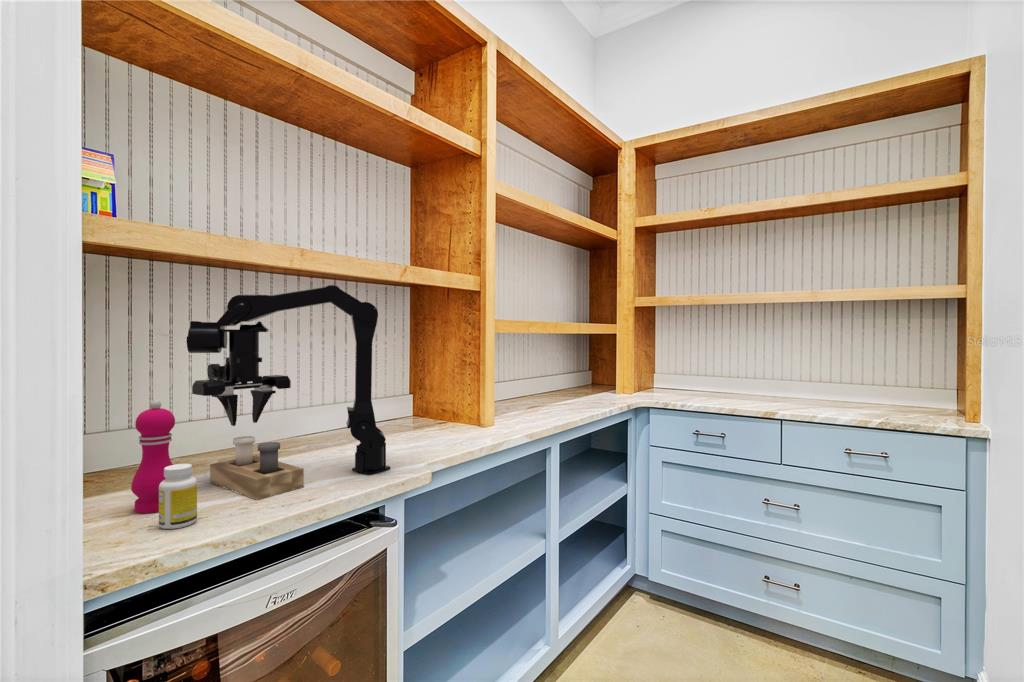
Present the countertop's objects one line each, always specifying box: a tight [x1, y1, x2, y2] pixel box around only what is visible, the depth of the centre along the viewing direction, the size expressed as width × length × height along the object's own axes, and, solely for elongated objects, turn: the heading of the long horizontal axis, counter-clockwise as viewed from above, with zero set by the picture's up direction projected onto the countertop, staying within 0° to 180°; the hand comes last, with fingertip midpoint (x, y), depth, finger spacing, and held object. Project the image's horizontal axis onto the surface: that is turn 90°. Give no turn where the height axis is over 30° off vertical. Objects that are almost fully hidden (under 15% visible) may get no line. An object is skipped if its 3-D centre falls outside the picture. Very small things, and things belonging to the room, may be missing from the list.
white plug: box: [232, 435, 256, 467], centre depth 109 cm, size 4×4×6 cm
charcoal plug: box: [257, 441, 281, 474], centre depth 103 cm, size 4×4×6 cm
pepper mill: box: [130, 399, 176, 514], centre depth 92 cm, size 7×7×20 cm
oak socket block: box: [209, 454, 305, 501], centre depth 106 cm, size 10×19×4 cm, turn 55°
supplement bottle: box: [158, 463, 198, 530], centre depth 85 cm, size 5×5×10 cm
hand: (244, 424), depth 109 cm, fingers open, 4 cm apart
